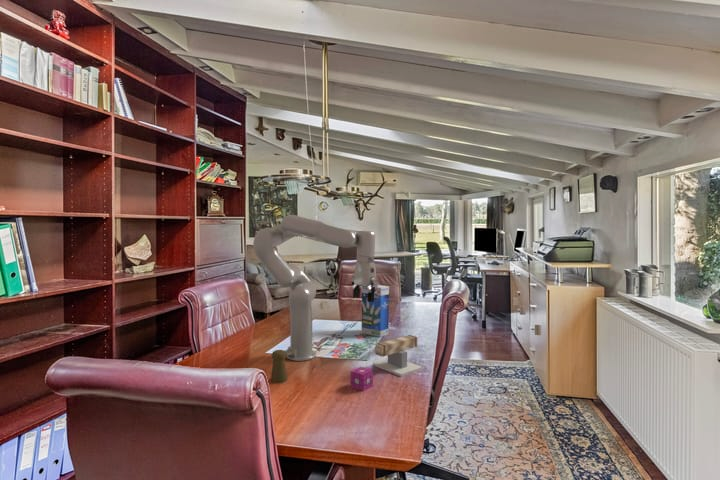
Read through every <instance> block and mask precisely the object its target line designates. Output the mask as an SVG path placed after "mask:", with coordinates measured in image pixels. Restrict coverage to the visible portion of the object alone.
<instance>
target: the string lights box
mask: <svg viewBox="0 0 720 480" xmlns="http://www.w3.org/2000/svg"><path fill="white" fill-rule="evenodd" d="M368 292H369V291H368V288H367V287H363V286H361V333H362V334H366V335H370V336H374V337H379V338H382V337H385V336H389V318H390V317H389V314H390V313H389V309H390V307H389V306H390V305H389V304H390V286H388V285H382V284H378V287H377V290H376V292H374V301H373V302H368V301H367V298H368Z"/></svg>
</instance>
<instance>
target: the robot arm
mask: <svg viewBox="0 0 720 480" xmlns="http://www.w3.org/2000/svg"><path fill="white" fill-rule="evenodd" d="M294 237H301V238H304V239H307V240H311V241H315V242H320V243H325V244H328V245H332V246H336V247H339V248H340V247H341V248H344V249H348V248H353V247H356V262H355V266H354V267H355V268H354V274H353V276H352V277H350V279H351V280H350V281H351V285H352V288H353V292H352V297H353V298H354V299H356V298H360V297H361V288H360V287H362V286H363V287H367V288H368V291H369V292H368V298H367V301H368V302H373V301H374V292H376V290H377V287H378V285H380V284H379V282H378V281H377V272H376V271H377V269H376V264H375V249H376V248H375V246H376V233H375V232H374V231H370V230H354V229H347V228H346V229H345V228H342V227H341V228H340V227H336V226H333V225H329V224H326V223H324V222H322V221H320V220H316V219H315V220H314V219H311V218H307V217H303V216H300V215H297V214H288V215H285V216H284V217H283V218H282V220H281V222H280V223H279V224H277V225H275V226H273V227H265V228H261V229H260V230H259V231H258V232H256V234H255V236H254V239H253V244H252V246H253V251H254V254H255V256H256V258H257V259H258V260H259V261H260V263H261V264H262V265H263V266H264V267H265V269H266V270H267V272H268V273H269V274H270V275H271V276H272V278H273V279H274V280H275V282H276V284H278V285H279V286H280V287H283V288H287V287H289V289H290V292H289V294H288V305H289V321H290V322H289V325H290V328H289V329H290V330H289V331H290V332H289V333H290V337H289V339H290V340H289V341H290V342H289V344H290V346H288V347H287V349H286V350H284V351H285V352H286V358H287V359H288V360H290V361H293V362H294V361H296V362H302V361H303V362H304V361H305V362H306V361H310V360H313V359H314V358H315V357H316V356H317V352H316V351H314V349H313V309H312V301H313V300H314V299H315V297H316V295H317V288H316V286H315V285H314V283H313V282H312V281H311V279H310V278H309V277H308V276H307V275H306V274H305V272H304V271H303V270H302V269H301V268H300V267H299V266H298V265H297V264H294V263H289V262H287V260H286V259H284V258H283V256H282V255H281V254H280V252H279V251H277V250H276V249H275V247H277V246H279V245H280V246H281V245H282V244H283V243H286V242H288V241H289V240H291V239H293V238H294Z"/></svg>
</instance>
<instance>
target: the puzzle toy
mask: <svg viewBox="0 0 720 480" xmlns="http://www.w3.org/2000/svg"><path fill="white" fill-rule="evenodd" d="M373 386H374V370H372V369H369V368H366V367H363V366H359V367H357V368H355V369H352V370H351V371H350V387H351V388H353V389H356V390H358V391H361V392H364V391H366V390H368V389H370V388H372V387H373Z"/></svg>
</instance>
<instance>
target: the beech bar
mask: <svg viewBox="0 0 720 480" xmlns="http://www.w3.org/2000/svg"><path fill="white" fill-rule="evenodd" d="M374 345H375V346H374V347H375V348H374V349H375V355H376V356H378V357H379V356H380V357H382V358H383V357H386V356H387V357H388V355H390V354H394V353H397V352H400V351H406V350H409V349H413V348H417V347H418V336H416V335H412V334H408V335H405V336H402V337H397V338H393V339H390V340H386V341H381V342H377V343H375V344H374Z"/></svg>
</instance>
